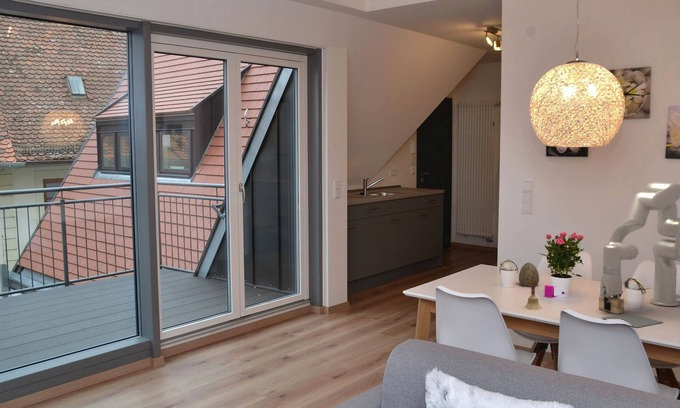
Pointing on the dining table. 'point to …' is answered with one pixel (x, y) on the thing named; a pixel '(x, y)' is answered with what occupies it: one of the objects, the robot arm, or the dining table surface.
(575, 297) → the dining table surface
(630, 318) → the mat
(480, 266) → the dining table surface
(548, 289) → the toy block
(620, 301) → the oak block
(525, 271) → the decorative egg
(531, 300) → the hand bell
